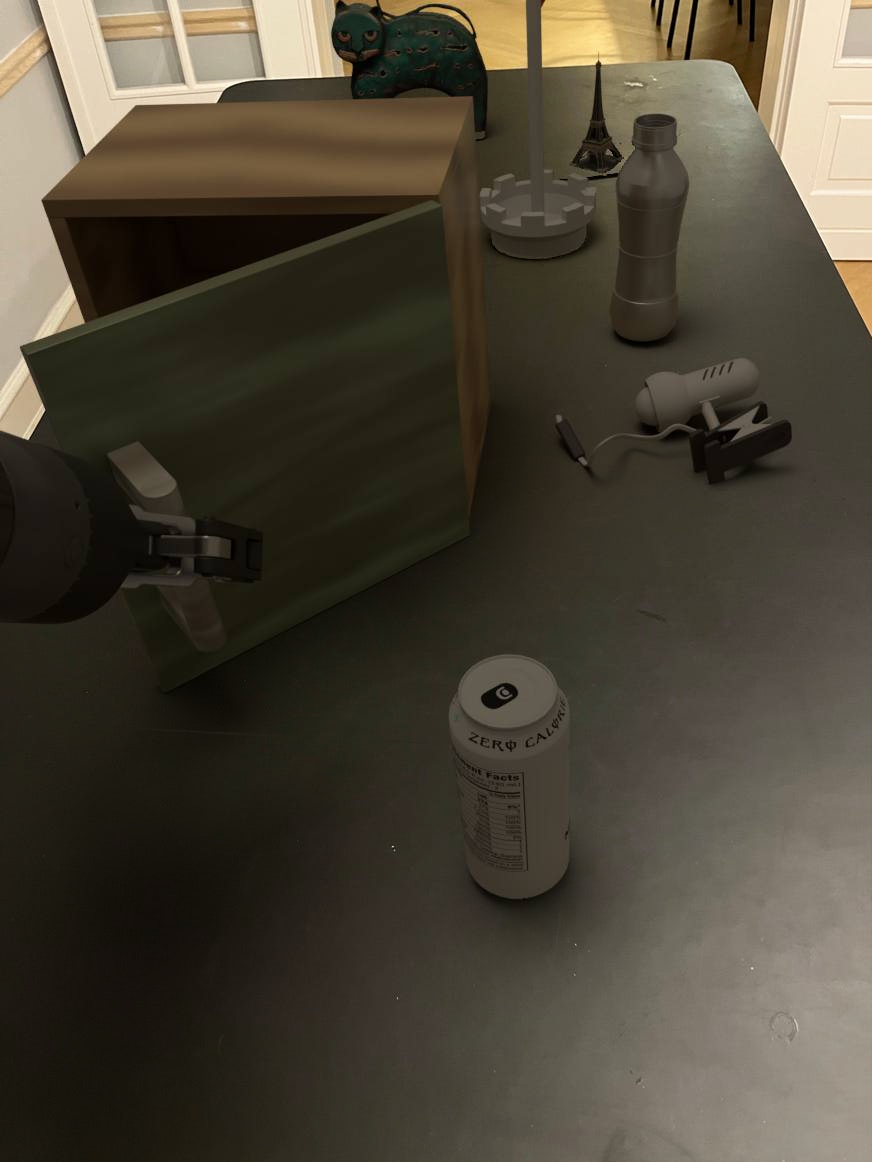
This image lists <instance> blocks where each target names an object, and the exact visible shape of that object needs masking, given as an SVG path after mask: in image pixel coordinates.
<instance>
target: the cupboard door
mask: <svg viewBox="0 0 872 1162" xmlns="http://www.w3.org/2000/svg"><path fill="white" fill-rule="evenodd" d="M19 350H20V352H21V354H22V357H23V359H24V362H25V364H26V367H27V369H28V372H29V374H30V376H31V378H32V381H33V384H34V387H35V389H36V391H37V394H38V396H39V399H40V401H41V404H42V406H43V408H44V411H45V413H46V415H47V418H48V420H49V423H50V425H51V427H52V430H53V433H54V435H55V438H56V440H57V443H58V444H59V447H60V451H61V452H64V453H67V454H70V455H73V456H76V457H79V458H82V459H84V460H86V461H88V462H90V463H92V464H94V465H95V466H97V467H98V468H100V469H101V470H102V471H104V472H105V473H106V474H107V475H108V476H109V477H110V478H111V479H112V480H113V481H114V482H115V483H116V485H117V486H118V487H119V489H120V490H121V492H122V493H123V495H124V497H125V498H126V500H127V502H128V504H129V505H136V506H139V507H140V508H142V510H143V511H145V512H151V513H159V514H167V515H176V516H184V517H190V518H192V519H193V520H194V521H196V519H204V517H215V520H220V521H224V522H228V523H231V524H235V525H239V526H242V527H246V528H253V529H256V530H257V531H260V532H263V550H262V578H261V581H254V583H244V582H232V581H225V580H224V583H215V582H214V580H210V579H195V581H194V582H193V584H192V585H190V586H188V587H167V586H152V585H140V586H139V587H137V588H133V589H118V591H119V593H120V596H121V598H122V601H123V603H124V606H125V608H126V610H127V613H128V616H129V618H130V621H131V623H132V625H133V628H134V630H135V633H136V635H137V637H138V641H139V643H140V645H141V648H142V650H143V652H144V654H145V657H146V659H147V662H148V665H149V667H150V669H151V672H152V674H153V677H154V679H155V681H156V683H157V685H158V687H159V688H160V690H161V691H162V692H163V693H164V694H166V693H168V692H170V691H172V690H174V689H176V688H177V687H179V686H181V685H183V684H186V683H188V682H189V681H191V680H193V679H195V678H197V677H199V676H202V675H203V674H205V673H207V672H208V671H210V670H213V669H215V668H217V667H218V666H220V665H222V664H224V663H226V662H228V661H230V660H232V659H234V658H235V657H238V656H239V655H241V654H243V653H245V652H247V651H249V650H251V649H253V648H255V647H257V646H259V645H261V644H263V643H265V642H266V641H268V640H271V639H272V638H275V637H276V636H278V635H280V634H282V633H285V632H286V631H287V630H289V629H292V628H293V627H296V626H297V625H299V624H301V623H303V622H305V621H307V620H309V619H311V618H313V617H315V616H316V615H319V614H321V613H323V612H324V611H326V610H328V609H331V608H332V607H334V606H336V605H338V604H340V603H342V602H344V601H346V600H348V599H350V598H352V597H353V596H355V595H357V594H359V593H361V592H363V591H365V590H367V589H369V588H371V587H373V586H374V585H376V584H378V583H380V582H383V581H385V580H386V579H388V578H390V577H392V576H393V575H396V574H398V573H400V572H402V571H403V570H405V569H408V568H409V567H412V566H413V565H416V564H417V563H419V562H421V561H423V560H425V559H427V558H429V557H431V556H432V555H435V554H436V553H439V552H441V551H442V550H444V549H446V548H448V547H450V546H452V545H453V544H455V543H457V542H460V541H461V540H463V539H466V538H468V537H470V536H471V529H470V515H469V516H468V504H467V492H466V480H465V469H464V457H463V445H462V433H461V421H460V410H459V398H458V386H457V374H456V362H455V351H454V339H453V327H452V315H451V303H450V292H449V280H448V268H447V256H446V244H445V232H444V221H443V209H442V205H440V204H438V203H436V202H434V201H432V200H430V201H427V202H425V203H422V204H419V205H416V206H413V207H411V208H408V209H405V210H402V211H399V212H396V213H394V214H391V215H388V216H385V217H382V218H380V219H377V220H374V221H371V222H368V223H365V224H363V225H360V226H357V227H354V228H351V229H349V230H346V231H343V232H340V233H337V234H334V235H332V236H329V237H326V238H323V239H320V240H318V241H315V242H312V243H309V244H306V245H303V246H301V247H298V248H295V249H292V250H289V251H287V252H284V253H281V254H278V255H275V256H273V257H270V258H267V259H264V260H261V261H258V262H256V263H253V264H250V265H247V266H244V267H242V268H239V269H236V270H233V271H230V272H227V273H225V274H222V275H219V276H216V277H213V278H211V279H208V280H205V281H202V282H199V283H196V284H194V285H191V286H188V287H185V288H182V289H180V290H177V291H174V292H171V293H168V294H165V295H163V296H160V297H157V298H154V299H151V300H149V301H146V302H143V303H140V304H137V305H134V306H132V307H129V308H126V309H123V310H120V311H118V312H115V313H112V314H109V315H106V316H103V317H101V318H98V319H95V320H92V321H89V322H87V323H85V322H84V323H81V324H78V325H75V326H73V327H69V328H67V329H64V330H62V331H59V332H56V333H53V334H50V335H47V336H44V337H42V338H39V339H36V340H33V341H31V342H27V343H25V344H21V345H20V346H19ZM168 567H169V564H168V565H167V566H166V567H165V568H163V569H161V570H157V571H152V572H146V574H160V575H164V574H165V573H166V572H167V570H168Z"/></svg>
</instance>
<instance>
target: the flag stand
mask: <svg viewBox="0 0 872 1162" xmlns="http://www.w3.org/2000/svg"><path fill="white" fill-rule="evenodd" d="M545 2H546V0H525V21H526V24H525V25H526V58H527V59H526V62H527V65H526V66H527V99H528V101H527V102H528V137H529V139H528V141H529V175H530V176H529V177H530V179H526V180H520V181H516V176H515V175H514V174H513V173H511V172H510V173H507V174H504V175H501V176H498V177H496V178H494V179H493V188H491V187H490V188H489V187H482V188H481V190H480V192H479V209H480V220H481V222H482V224H484V225H485V226H486V227H487V228H488V229H490V239H491V238H492V240H493V242H494V243H495V244H496V245H497V246H499V248H501V249H503V250H504V251H507V252H510V253H513V254H517V255H522V256H530V257H550V256H556V255H561V254H564V253H567V252H571V251H572V250H574V249H576V248H577V247H579V246H580V245H581V244H582V242H584V240H585V238H586V239H587V226H588V224H589V223H590V222H591V221H592V220H593V219H594V218H595V215H596V213H597V188H596V186H589V178H586V177H584V176H582V175H579V174H576V173H572V174H570V175H568V180H554V171H553V170H552V169H544V153H545V152H544V104H543V103H544V100H543V99H544V97H543V96H544V95H543V93H544V92H543V49H542V48H543V45H542V44H543V43H542V41H543V39H542V38H543V37H542V7H543V6H544V4H545ZM492 189H493V190H492ZM585 241H586V240H585Z"/></svg>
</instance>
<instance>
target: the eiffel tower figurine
mask: <svg viewBox="0 0 872 1162" xmlns="http://www.w3.org/2000/svg"><path fill="white" fill-rule="evenodd" d="M597 53H598V58H597V61H596V62H595V66H594V67H595V81H594V93H593V103H592V111H591V112H592V113H591V116H590V120H589V126H588V129H587V132H586V136H585V137H584V138H583V139H582V140H581V146H580V147H581V148H580V147H579V148H580V149H579V151H578V152H577V154H576V156H575V157H574V159H573V161H572V162H571V163H570V164H569V165H570V166H574V167H577V168H578V167H579V168H581V169H585V170H590V171H594V172H598V173H602V174H603V173H606V172H607V171H610V170H611V169H613V168H614V167H615V166H616V165H617V164H618V163H619V162H621V160H622V159H624V157H622V155H621V154H620V152H619V151H618V149H617V148H616V147H615V145H614V144H615V143H614V142H613V136H611V135H610V134H609V132H608V128H607V125H606V118H605V117H604V116H605V115H604V108H603V107H604V106H603V97H602V96H603V95H602V67H603V65H602V62H601V61H600V51H598V52H597ZM631 142H632V140H631ZM607 149H609V150H610V151H611V152H612V154H613V156H611V155H606V154H605V153H606V151H607ZM587 151H588V152H587ZM585 152H587V154H586V156H587V158H585V155H584V156H582V155H583V154H584V153H585ZM582 158H585V159H582ZM580 159H582V160H580Z"/></svg>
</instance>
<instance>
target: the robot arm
mask: <svg viewBox="0 0 872 1162" xmlns="http://www.w3.org/2000/svg"><path fill="white" fill-rule="evenodd" d="M262 550H263V532H260V531H257V530H256V529H253V528H246V527H242V526H239V525H235V524H231V523H228V522H224V521H220V520H215V517H204V519H196V521H194V520H193V519H192V518H190V517H184V516H176V515H167V514H159V513H151V512H145V511H143V510H142V508H140V507H139V506H136V505H129V504H128V502H127V500H126V498H125V497H124V495H123V493H122V492H121V490H120V489H119V487H118V486H117V485H116V483H115V482H114V481H113V480H112V479H111V478H110V477H109V476H108V475H107V474H106V473H105V472H104V471H102V470H101V469H100V468H98V467H97V466H95V465H94V464H92V463H90V462H88V461H86V460H84V459H82V458H79V457H76V456H73V455H70V454H67V453H64V452H62V450H58V449H56V448H52V447H51V446H47V445H44V444H41V443H39V442H35V441H33V440H30V439H27V438H24V437H21V436H18V435H16V434H12V433H9V432H7V431H4V430H2V429H0V623H1V624H3V623H6V624H7V623H8V624H33V625H61V624H68V623H71V622H75V621H79V620H81V619H84V618H86V617H88V616H91V615H92V614H93V613H95V612H97V611H98V610H99V609H100V610H101V608H102V607H103V606H105V605H106V604H107V603H108V602H109V601H110V600H111V599H112V598H113V597H114V596H115V595H116V593H117V592H118V591H119V589H133V588H137V587H139V586H140V585H152V586H167V587H188V586H190V585H192V584H193V582H194V581H195V579H210V580H214V582H215V583H224V580H225V581H232V582H244V583H254V581H261V578H262ZM168 564H169V567H168V570H167V572H166V573H165V574H164V575H160V574H146V572H152V571H157V570H161V569H163V568H165V567H166V566H167V565H168Z"/></svg>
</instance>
